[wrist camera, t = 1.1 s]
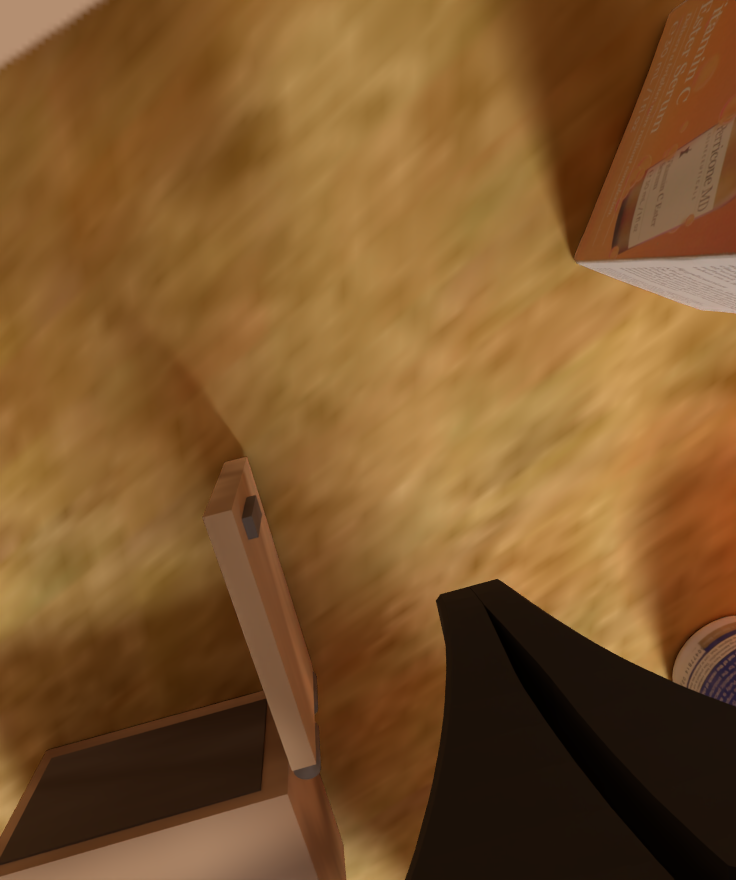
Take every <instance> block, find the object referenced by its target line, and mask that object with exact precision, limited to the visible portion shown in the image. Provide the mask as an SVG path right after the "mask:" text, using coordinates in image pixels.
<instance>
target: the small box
mask: <svg viewBox="0 0 736 880" xmlns="http://www.w3.org/2000/svg"><path fill="white" fill-rule="evenodd" d="M574 260H575V262H576V263H577V264H579V265H582V266H585V267H587V268H590V269H592V270H595V271H597V272H599V273H602V274H605V275H607V276H610V277H612V278H615V279H618V280H620V281H623V282H626V283H628V284H631V285H634V286H636V287H639V288H642V289H644V290H647V291H650V292H652V293H655V294H658V295H660V296H663V297H666V298H668V299H671V300H674V301H676V302H679V303H682V304H685V305H688V306H691V307H694V308H696V309H699V310H706V311H719V312H729V313H736V0H686V1H684V2H683V3H681V4H680V5H678V6H677V7H676V8H675V9H673V10H672V11H671V13H670V15H669V16H668V19H667V21H666V25H665V28H664V31H663V33H662V36H661V39H660V41H659V44H658V47H657V50H656V53H655V56H654V58H653V61H652V64H651V67H650V69H649V72H648V75H647V77H646V80H645V82H644V85H643V87H642V90H641V93H640V95H639V98H638V100H637V103H636V105H635V108H634V110H633V113H632V116H631V118H630V121H629V123H628V126H627V128H626V130H625V133H624V135H623V138H622V140H621V143H620V145H619V148H618V150H617V153H616V155H615V158H614V160H613V163H612V165H611V167H610V170H609V172H608V175H607V177H606V180H605V182H604V185H603V187H602V190H601V192H600V195H599V197H598V200H597V202H596V205H595V207H594V210H593V212H592V215H591V217H590V220H589V222H588V225H587V227H586V230H585V232H584V234H583V236H582V238H581V241H580V243H579V246H578V248H577V251H576V253H575V257H574Z"/></svg>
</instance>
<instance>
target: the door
mask: <svg viewBox="0 0 736 880" xmlns="http://www.w3.org/2000/svg"><path fill="white" fill-rule="evenodd" d="M202 518H203V521H204V524H205V526H206V529H207V532H208V535H209V538H210V541H211V543H212V546H213V549H214V552H215V555H216V558H217V560H218V563H219V566H220V569H221V572H222V575H223V577H224V580H225V583H226V586H227V589H228V592H229V594H230V597H231V600H232V603H233V606H234V608H235V611H236V614H237V617H238V620H239V623H240V625H241V628H242V631H243V634H244V637H245V640H246V642H247V645H248V648H249V651H250V654H251V657H252V659H253V662H254V665H255V668H256V671H257V674H258V676H259V679H260V682H261V685H262V688H263V690H264V693H265V696H266V699H267V702H268V705H269V707H270V710H271V713H272V716H273V719H274V722H275V724H276V727H277V730H278V733H279V736H280V739H281V741H282V744H283V747H284V750H285V753H286V756H287V758H288V761H289V764H290V767H291V770H292V771H294V774H295V775H296V776H297V777H298V778H300V779H305V780H306V779H312V778H314V777H316V776H317V775H318V774H319V772H320V770H321V759H320V738H319V726H318V724H317V723H316V722H315V717H314V715H315V714H316V713H317V711H318V696H317V676H316V674H315V673H314V672H313V666H312V663H311V660H310V657H309V653H308V650H307V647H306V644H305V641H304V637H303V634H302V631H301V628H300V625H299V621H298V618H297V615H296V612H295V609H294V605H293V602H292V599H291V596H290V593H289V589H288V586H287V583H286V580H285V577H284V573H283V570H282V567H281V564H280V561H279V557H278V554H277V551H276V548H275V545H274V541H273V538H272V535H271V532H270V529H269V525H268V522H267V519H266V516H265V513H264V509H263V506H262V503H261V500H260V497H259V493H258V490H257V487H256V484H255V481H254V478H253V474H252V471H251V468H250V465H249V462H248V458H247V457H243V458H239V459H235V460H231V461H227V462H224V465H223V467H222V470H221V472H220V475H219V477H218V480H217V482H216V485H215V487H214V490H213V492H212V495H211V497H210V500H209V502H208V505H207V507H206V510H205V512H204V515H203V517H202Z"/></svg>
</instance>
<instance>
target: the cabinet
mask: <svg viewBox="0 0 736 880" xmlns="http://www.w3.org/2000/svg"><path fill="white" fill-rule="evenodd" d="M0 880H346V871H345V858H344V846H343V842H342V839H341V836H340V833H339V830H338V827H337V824H336V821H335V818H334V815H333V812H332V809H331V806H330V803H329V800H328V797H327V794H326V791H325V788H324V785H323V782H322V779H321V776H320V773H319V774H318V775H317V776H316V777H314V778H312V779H306V780H305V779H300V778H298V777H297V776H296V775H295V774H294V771H292V770H291V767H290V764H289V761H288V758H287V756H286V753H285V750H284V747H283V744H282V741H281V739H280V736H279V733H278V730H277V727H276V724H275V722H274V719H273V716H272V713H271V710H270V707H269V705H268V702H267V699H266V696H265V693H264V691H260V692H257V693H253V694H249V695H246V696H242V697H239V698H235V699H231V700H228V701H224V702H220V703H217V704H213V705H210V706H206V707H202V708H199V709H195V710H192V711H188V712H184V713H181V714H177V715H173V716H170V717H166V718H163V719H159V720H155V721H152V722H148V723H145V724H141V725H137V726H134V727H130V728H127V729H123V730H119V731H116V732H112V733H108V734H105V735H101V736H98V737H94V738H90V739H87V740H83V741H80V742H76V743H72V744H69V745H65V746H61V747H58V748H54V749H51V750H47V751H46V752H45V754H44V756H43V758H42V760H41V762H40V764H39V765H38V767H37V769H36V771H35V773H34V775H33V777H32V779H31V780H30V782H29V784H28V786H27V788H26V790H25V792H24V794H23V795H22V797H21V799H20V801H19V803H18V805H17V807H16V809H15V810H14V812H13V814H12V816H11V818H10V820H9V822H8V824H7V825H6V827H5V829H4V831H3V833H2V835H1V837H0Z"/></svg>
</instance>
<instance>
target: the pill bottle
mask: <svg viewBox="0 0 736 880" xmlns="http://www.w3.org/2000/svg"><path fill="white" fill-rule="evenodd" d="M672 679H673V682H674V683H677V684H679V685H682V686H684V687H686V688H689V689H691V690H694V691H696V692H699V693H701V694H704V695H707V696H709V697H712V698H714V699H717V700H720V701H722V702H725V703H728V704H730V705H733V706H736V616H729V617H724V618H721V619H718V620H716V621H713V622H711V623H709V624H707V625H706V626H704V627H702V628H701V629H700V630H698V631H697V632H696V633H695V634H693V635H692V636H691V637H690V638H689V639H688V641H687V642H686V643H685V644H684V646H683V647H682V648H681V650H680V652H679V654H678V656H677V658H676V661H675V664H674V668H673V675H672Z"/></svg>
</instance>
